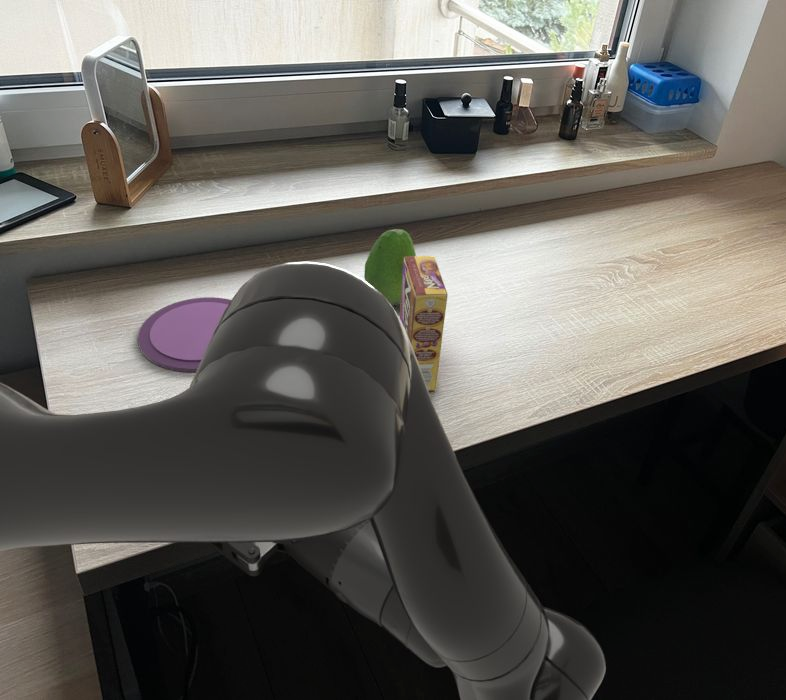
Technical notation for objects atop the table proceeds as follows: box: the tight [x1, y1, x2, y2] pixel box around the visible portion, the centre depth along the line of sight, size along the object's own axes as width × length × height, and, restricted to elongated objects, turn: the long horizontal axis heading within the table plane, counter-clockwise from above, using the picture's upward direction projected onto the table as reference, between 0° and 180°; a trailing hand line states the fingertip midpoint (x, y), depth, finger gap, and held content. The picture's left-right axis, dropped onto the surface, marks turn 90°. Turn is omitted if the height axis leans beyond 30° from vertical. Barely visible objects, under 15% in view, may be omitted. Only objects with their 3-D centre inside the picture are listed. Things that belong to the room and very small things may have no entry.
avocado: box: [363, 228, 417, 307], centre depth 105 cm, size 8×8×12 cm
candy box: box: [399, 255, 449, 392], centre depth 92 cm, size 9×4×15 cm, turn 13°
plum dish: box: [137, 296, 232, 373], centre depth 98 cm, size 16×16×1 cm
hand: (237, 455), depth 65 cm, fingers open, 8 cm apart
